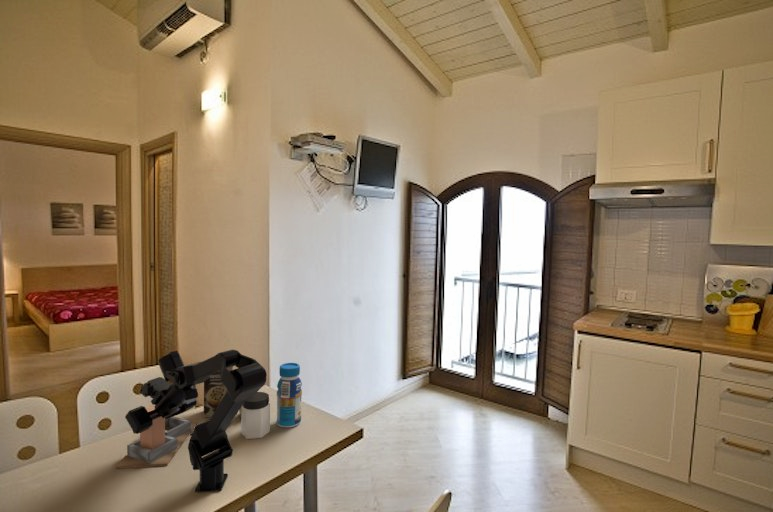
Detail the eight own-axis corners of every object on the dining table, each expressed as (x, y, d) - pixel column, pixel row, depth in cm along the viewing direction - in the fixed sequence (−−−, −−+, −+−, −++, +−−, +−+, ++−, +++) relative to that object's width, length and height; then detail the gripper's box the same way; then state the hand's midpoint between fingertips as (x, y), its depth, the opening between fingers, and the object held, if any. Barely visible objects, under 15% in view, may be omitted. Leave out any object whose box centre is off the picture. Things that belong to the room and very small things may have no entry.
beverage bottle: (272, 421, 135) (272, 364, 134) (294, 414, 140) (294, 360, 139) (283, 431, 129) (284, 371, 128) (306, 423, 134) (307, 366, 133)
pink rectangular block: (165, 450, 114) (164, 408, 114) (152, 457, 111) (152, 414, 110) (153, 446, 116) (153, 405, 116) (140, 453, 113) (140, 410, 112)
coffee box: (202, 417, 137) (203, 372, 136) (206, 409, 143) (206, 366, 142) (230, 415, 139) (231, 370, 138) (232, 407, 145) (233, 364, 144)
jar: (273, 434, 126) (273, 398, 126) (248, 442, 121) (248, 404, 121) (262, 423, 133) (262, 389, 133) (238, 430, 128) (238, 395, 128)
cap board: (167, 465, 108) (167, 453, 108) (116, 468, 106) (116, 455, 106) (197, 424, 132) (197, 413, 132) (155, 425, 130) (155, 415, 130)
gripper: (189, 361, 120) (164, 391, 124) (129, 382, 102) (102, 415, 107) (209, 391, 117) (182, 420, 122) (150, 417, 100) (122, 449, 104)
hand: (149, 424), depth 114 cm, fingers open, 9 cm apart
